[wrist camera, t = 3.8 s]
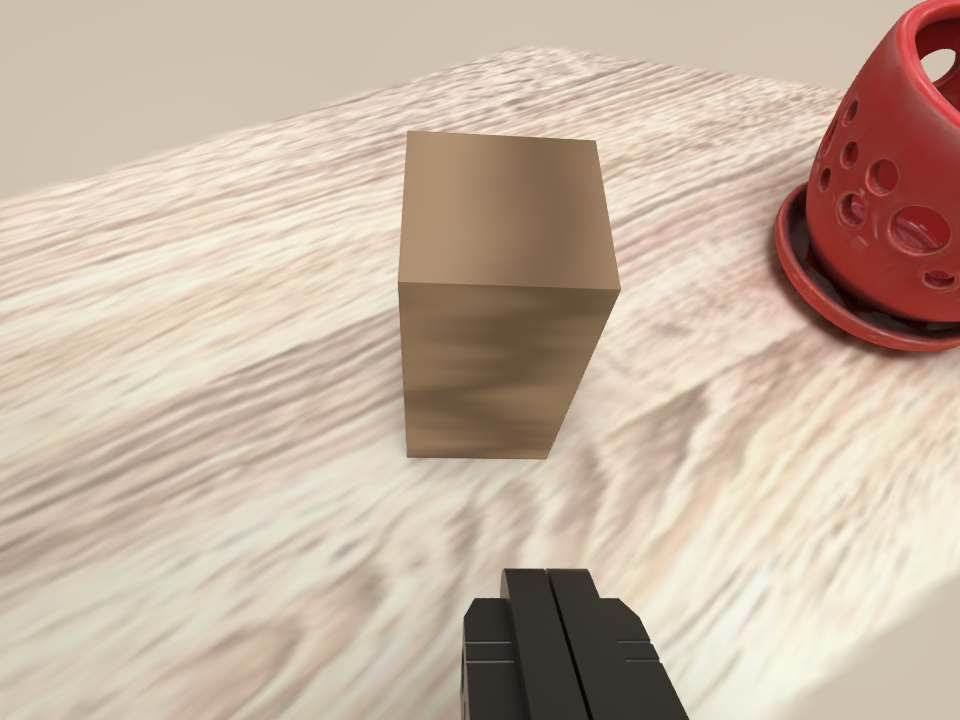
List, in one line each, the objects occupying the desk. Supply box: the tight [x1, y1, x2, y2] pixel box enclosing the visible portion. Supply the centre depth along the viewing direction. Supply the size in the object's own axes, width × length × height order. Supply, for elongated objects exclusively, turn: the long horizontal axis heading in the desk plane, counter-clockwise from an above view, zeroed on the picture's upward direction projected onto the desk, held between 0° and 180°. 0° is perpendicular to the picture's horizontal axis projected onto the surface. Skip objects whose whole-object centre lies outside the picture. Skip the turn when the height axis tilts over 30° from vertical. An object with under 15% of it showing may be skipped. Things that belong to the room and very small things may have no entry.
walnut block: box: [398, 131, 621, 459], centre depth 23 cm, size 6×6×12 cm
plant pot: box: [775, 0, 960, 351], centre depth 29 cm, size 13×13×12 cm
